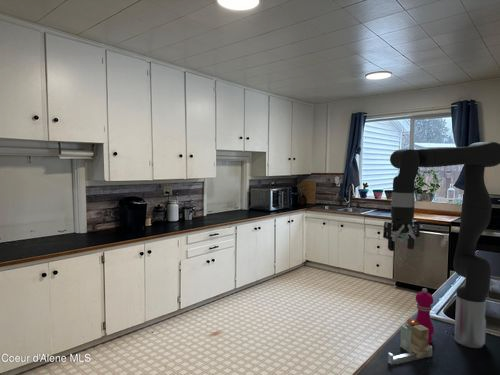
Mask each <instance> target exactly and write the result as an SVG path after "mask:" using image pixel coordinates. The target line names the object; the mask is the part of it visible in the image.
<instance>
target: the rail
mask: <svg viewBox="0 0 500 375" xmlns="http://www.w3.org/2000/svg"><path fill="white" fill-rule="evenodd" d="M428 345H429V346H430V353H429V356H424V357H420V358H417V357H416V353H414V352H410V353H409V352H406V353H401V354H398V355H394V354H393V353H391V352H388V353H387V364H388V363H390V364H391V365H390V364H389V365H390V366H395V365H394V364H396V365H400V364H404V363H407V362H412V361H417V360H423V359H425V358H431V357H433V346H432V345H431V344H430V343H428ZM392 364H393V365H392Z"/></svg>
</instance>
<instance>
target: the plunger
mask: <svg viewBox="0 0 500 375" xmlns="http://www.w3.org/2000/svg"><path fill="white" fill-rule="evenodd" d="M415 319H416V318H415ZM415 319H414V318H408V319H407V321H406V323H407V324H408V328H409V329H411V330H412V331H413V326H416V325H419V321H417V320H415Z"/></svg>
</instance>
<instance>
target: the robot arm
mask: <svg viewBox="0 0 500 375" xmlns="http://www.w3.org/2000/svg"><path fill="white" fill-rule="evenodd" d="M389 162H390V164H391V165H392V167H394V168H396V169H399V171H398V175H395V177H394V178H393V180H392V194H391V202H390V203H391V206H390V207H391V209H390V216H391V219H392V220H391V221H384V223H383V234H382V237H383V239H385V240H387V250H389V252H394V251H395V245H396V241H395V240H396V238H397V237H399V236H400V235H401V234H405V235H406V236H407V243H406V244H407V246H406V247H407V249H408V250H414V248H415V240H416V238H420V233H421V232H420V229H421V228H420V221H419V220H416V219H415V220H414V218H415V182H416V178H417V175H418V171H419V168H440V167H451V166H452V167H453V166H460V165H462V166H463V165H464V185H463V198H462V204H461V205H462V206H461V210H460V211H461V212H460V222H459V223H460V225H459V232H458V233H459V234H458V238H457V243H456V247H455V252H454V257H453V264H452V267H453V270H454V272H455V274H457V275H458V276H460V277H462V278H464V279H465V285H462V286H458V287H457V288H456V295H455V296H456V297H455V315H454V317H455V318H454V336H453V337H454V341H455V342H456V343H458V344H460V345H461V346H464V347H467V348H471V349H481V348H483V347H484V345H485V344H486V332H487V331H486V328H487V319H486V303H487V302H486V301H487V295H488V293H489V291H490V284H491V278H492V277H491V275H492V269H491V265H490V262H489V261H488V260H487V259H485V258H484V257H481V256H478V255H476V250H477V249H476V248H477V243H478V241H479V238H480V237H481V235H483V233H484V232H485V230H486V229H487V228H488V226H489V224H490V222H491V216H492V209H493V202H492V199H491V196H490V194H489V191H488V189H487V187H486V184H485V169H486V168H493V167H496V166H498V165H500V143H499V142H496V141H479V142H474V143H471V144H469V145H468V146H460V147H459V146H455V147H454V146H453V147H452V146H450V147H449V146H446V147H445V146H442V147H441V146H439V147H438V146H437V147H436V146H435V147H424V148H417V149H416V148H415V149H413V148H403V149H397V150H395V151H393V152H392V153H391V155H390V157H389Z"/></svg>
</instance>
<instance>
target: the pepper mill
mask: <svg viewBox="0 0 500 375" xmlns="http://www.w3.org/2000/svg"><path fill="white" fill-rule="evenodd" d="M415 301H416V308H417V315H416V318H415V320H417V321H419V325H422V326H424V327H426V328H428V329H429V336H428V344H431V343H432V342H433V336H432V335H433V334H434V332H435V330H434V329H435V328H434V324H433V322H432V319H431V313H430V312H431V311H432V305H433V304H434V298H433V295H432V294H431V293H430V292H428V289H427V288H426V287H425V288H422V289H421V291H419V292H418V293H416V295H415Z"/></svg>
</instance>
